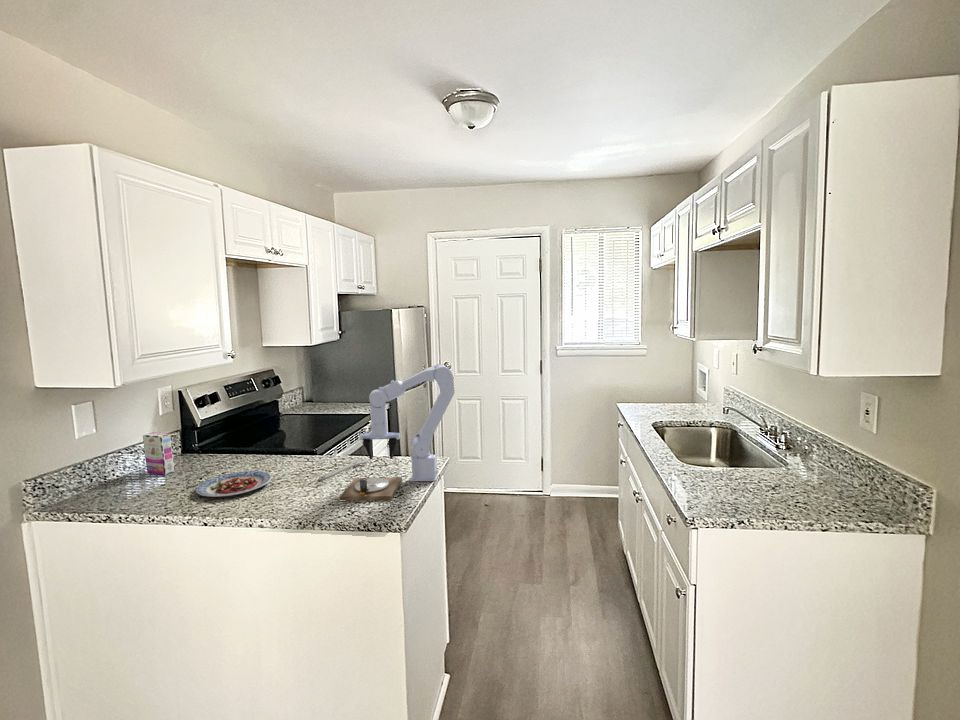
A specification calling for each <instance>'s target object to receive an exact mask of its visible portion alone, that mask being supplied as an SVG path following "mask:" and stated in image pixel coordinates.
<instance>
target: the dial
mask: <svg viewBox="0 0 960 720" xmlns="http://www.w3.org/2000/svg"><path fill="white" fill-rule="evenodd" d="M369 478H370V479H360V481H359V482H357V483H356V484H355V490H356V491H357V492H360V495H365V494H366V493H373V492H378V491H382V490H384V489H386V488H387V487H388V486H389V481H388V480H386V479H383V478H384V477H369Z"/></svg>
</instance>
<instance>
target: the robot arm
mask: <svg viewBox="0 0 960 720" xmlns="http://www.w3.org/2000/svg"><path fill="white" fill-rule="evenodd" d="M454 378H455V377H454V375H453V373H452V370H451V369H450V368H448V367H447V366H446V365H445V364H443V363H438V364H436V365H434V366H429V367H427V368H425V369H423V370H421V371H419V372H418V373H416V374H413V375H412V376H409V377H408V378H406V379H404V380H402V381H401V380H398V379H397V380H394V379H392V380H391V381H390V383H388V384H386V385H384V386H379V387H378V389H373V390H371V392H370V393H369V397H368V400H369V403H370V406H369V409H370V424H371V426H370V427H371V432H369V433H361V434H360V435H359V440H360V441H362V445H363V447H364V448H365V449H366V450H365V451H366V452H367V455H368V457H369V460H372V459H373V458H374V454H373V453H374V452H373V440H388V448H389V459H390V460H392V459H393V458H394V453H395V449H396V445H397V442H398V440H400V439H401V432H388V420H387V419H388V418H387V409H386V402H390V401H392V400H394V399H396V398H399V397H400V396H402V395H404V394H405V393H406V390H407V389H410V388H412V387H415V386H417V385H419V384H421V383H424V382H431V383H432V382H433V383H434V382H436V383H437V385H438V387H439V394H438V396H437V398H436V399H435V401H434V403H433V406H432V407H431V409H430V411H429V413H428V415H427V417H426V419H425V421H424V423H423V425H422V427H421V428H420V429H419V430H418V432H417V434H416V435H414V436H413V437H412V438H411V441H410V446H411V448H412V453H411V455H410V460H411V461H410V462H411V474H412V475H411V477H410V479H409V482H435V481H436V479H437V476H438V475H439V473H438V461H437V455H436V454H431V452H430V451H431V445H432V442H433V439H434V438H433V437H434V435H435V432H436V430H437V428H438V427H439V424H440V422H441V420H442V418H443V416H444V415H445V413H446V411H447V408H448V406H449V405H450V403H451V401H452V399H453V397H454V395H455V383H454Z"/></svg>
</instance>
